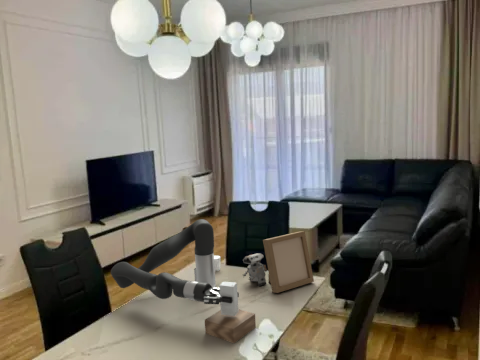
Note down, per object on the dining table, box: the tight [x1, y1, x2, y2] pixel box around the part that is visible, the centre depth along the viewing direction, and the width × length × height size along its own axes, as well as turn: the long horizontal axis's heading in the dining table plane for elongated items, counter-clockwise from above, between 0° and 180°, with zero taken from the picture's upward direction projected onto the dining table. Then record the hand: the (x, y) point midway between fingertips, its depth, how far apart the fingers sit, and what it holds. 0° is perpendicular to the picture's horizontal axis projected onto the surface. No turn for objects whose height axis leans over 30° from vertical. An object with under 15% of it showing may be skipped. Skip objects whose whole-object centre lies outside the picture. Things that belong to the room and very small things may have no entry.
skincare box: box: [218, 281, 239, 316], centre depth 169 cm, size 6×4×12 cm
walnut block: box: [204, 308, 257, 344], centre depth 171 cm, size 14×14×6 cm
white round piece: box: [214, 254, 222, 272], centre depth 238 cm, size 7×7×7 cm
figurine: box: [242, 253, 268, 287], centre depth 215 cm, size 9×12×15 cm
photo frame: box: [262, 230, 315, 294], centre depth 212 cm, size 15×22×25 cm
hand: (235, 297), depth 168 cm, fingers closed on skincare box, 4 cm apart
